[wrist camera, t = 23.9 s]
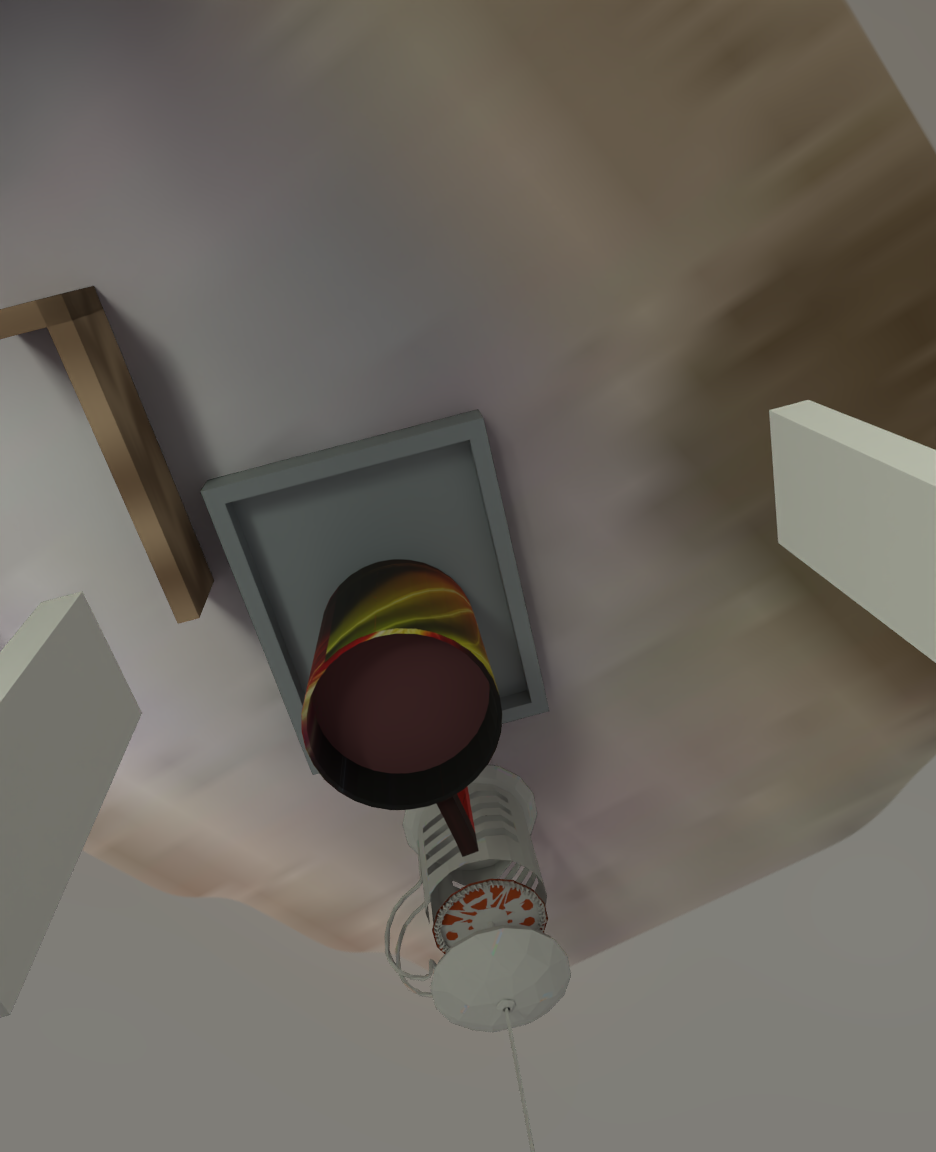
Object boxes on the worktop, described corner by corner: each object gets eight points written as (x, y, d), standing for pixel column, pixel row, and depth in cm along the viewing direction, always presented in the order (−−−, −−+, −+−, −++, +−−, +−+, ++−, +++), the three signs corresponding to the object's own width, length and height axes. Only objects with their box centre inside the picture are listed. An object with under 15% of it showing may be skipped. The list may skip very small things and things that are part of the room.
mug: (454, 768, 53) (473, 888, 42) (288, 642, 49) (258, 735, 38) (554, 665, 52) (602, 759, 40) (391, 527, 48) (392, 587, 36)
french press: (555, 840, 60) (675, 1217, 37) (412, 898, 60) (446, 1305, 38) (509, 743, 56) (613, 1100, 33) (356, 805, 56) (356, 1200, 34)
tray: (207, 480, 46) (200, 491, 44) (477, 409, 46) (483, 417, 44) (314, 755, 54) (312, 774, 52) (542, 693, 54) (549, 711, 53)
